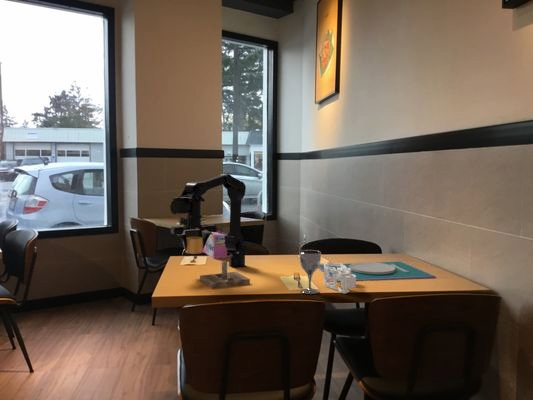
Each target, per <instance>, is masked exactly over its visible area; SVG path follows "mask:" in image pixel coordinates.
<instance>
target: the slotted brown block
mask: <svg viewBox="0 0 533 400" xmlns="http://www.w3.org/2000/svg"><path fill="white" fill-rule="evenodd" d="M199 280H200V281H201V282H202V283H204V285H206V286H208V287H209V288H210V289H212V290H213V289H218V288H219V289H220V288H229V287H238V286H244V285H245V286H246V285H250V284H251V279H250V278H249V277H247V276H245V275H243V274H242V273H239V271H229V272H228V260H222V261H221V273H212V274H203V275H201V274H200V275H199Z"/></svg>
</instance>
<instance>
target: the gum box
mask: <svg viewBox="0 0 533 400" xmlns="http://www.w3.org/2000/svg"><path fill="white" fill-rule="evenodd" d="M202 232H203V231H201V233H202ZM211 233H212V234H211V235H210V236H209V238H208V240H207V242H206V244H205V247H204V249H203V252H202V253H204V254H206V255H207V256H208V257H210V258H212V259H214V260H217V259H227V258H228V252H227V248H226V247H225V244H224V242H225V235H228V234H227V233H226V232H222V231H220V230H218V229H217V232H211Z"/></svg>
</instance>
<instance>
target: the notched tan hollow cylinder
mask: <svg viewBox="0 0 533 400" xmlns="http://www.w3.org/2000/svg"><path fill="white" fill-rule="evenodd" d="M185 253H186V254H192V255H197V254H202V253H204V252H203V238H202V237H201V236H187V250H185Z"/></svg>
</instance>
